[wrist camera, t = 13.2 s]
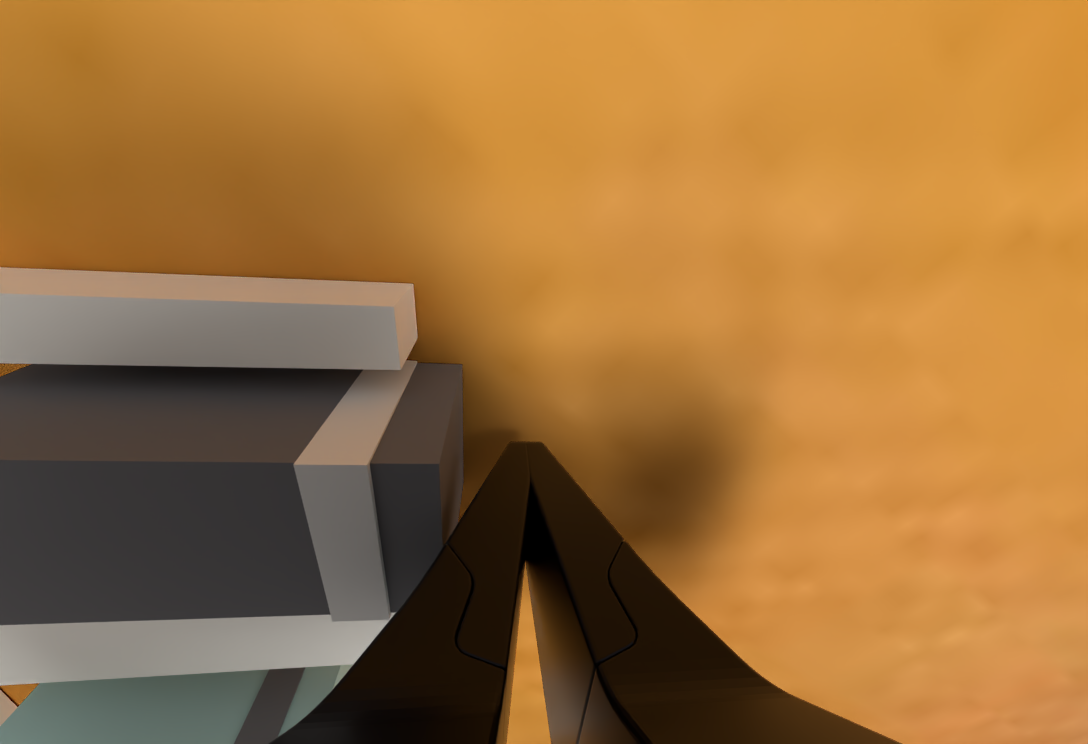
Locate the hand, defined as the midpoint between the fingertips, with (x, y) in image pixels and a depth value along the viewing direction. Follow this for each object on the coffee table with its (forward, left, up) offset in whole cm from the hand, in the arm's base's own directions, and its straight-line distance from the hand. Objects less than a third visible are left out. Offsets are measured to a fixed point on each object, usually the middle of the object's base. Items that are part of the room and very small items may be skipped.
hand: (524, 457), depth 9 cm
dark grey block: (0, +6, -1) cm, 6 cm away
